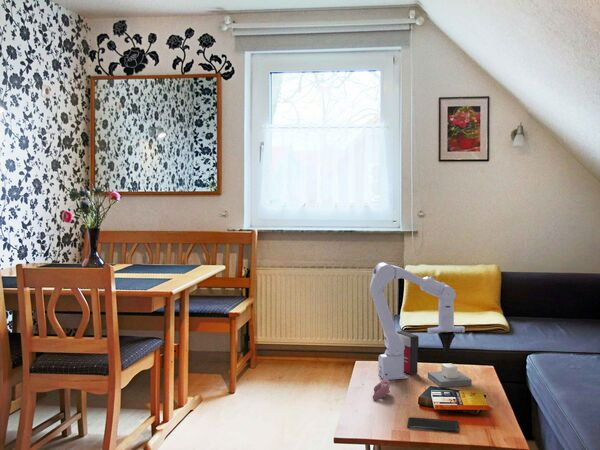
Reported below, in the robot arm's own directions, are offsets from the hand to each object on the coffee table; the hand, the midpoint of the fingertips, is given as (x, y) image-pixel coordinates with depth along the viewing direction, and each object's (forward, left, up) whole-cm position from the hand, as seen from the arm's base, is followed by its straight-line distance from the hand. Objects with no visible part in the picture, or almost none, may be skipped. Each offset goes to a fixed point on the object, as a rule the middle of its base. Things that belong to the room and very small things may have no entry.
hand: (446, 351), depth 224 cm
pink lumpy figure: (-32, -17, -10) cm, 37 cm away
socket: (-2, -7, -9) cm, 12 cm away
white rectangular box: (-2, -7, -9) cm, 12 cm away
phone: (-25, -46, -10) cm, 53 cm away
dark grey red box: (-13, +9, -10) cm, 18 cm away
